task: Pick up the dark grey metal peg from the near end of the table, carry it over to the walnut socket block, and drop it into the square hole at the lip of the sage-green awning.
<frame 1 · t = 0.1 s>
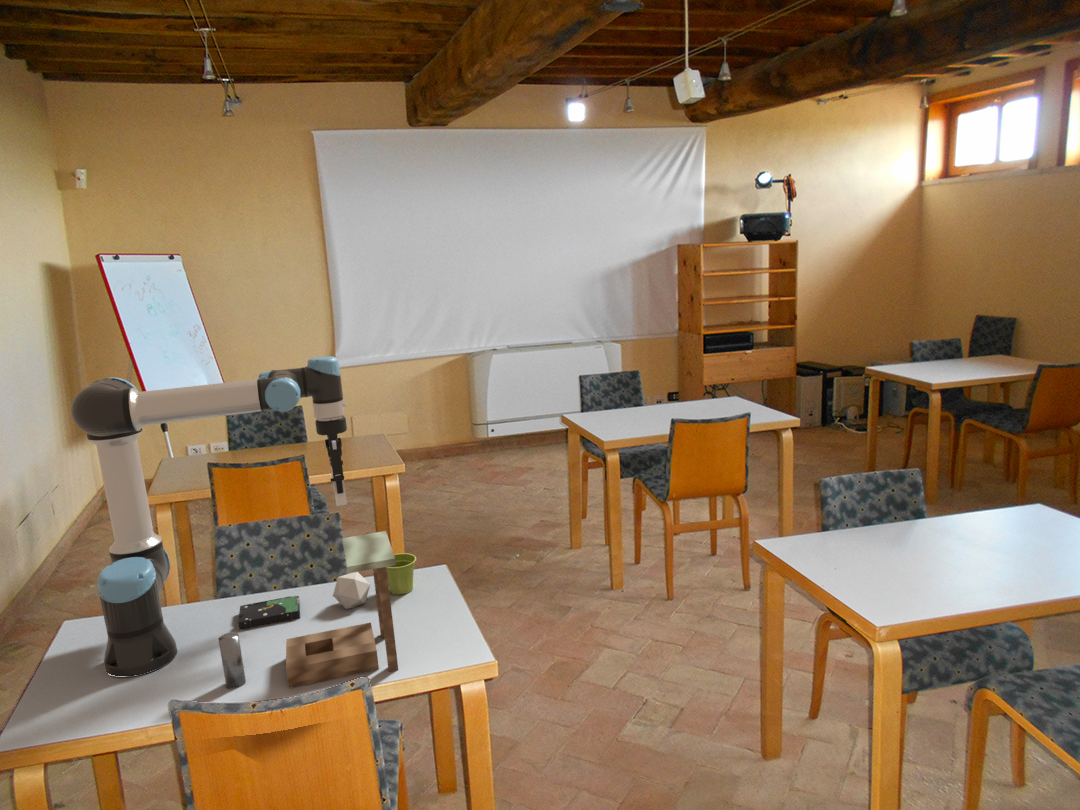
hand: (340, 497, 203), 28 cm above the table, tool pointing down, fingers open, 13 cm apart
disk drive: (270, 618, 201), on the table
plant pot: (401, 590, 211), on the table
socket stand: (321, 665, 175), on the table
die: (353, 604, 204), on the table
peg: (236, 683, 170), on the table
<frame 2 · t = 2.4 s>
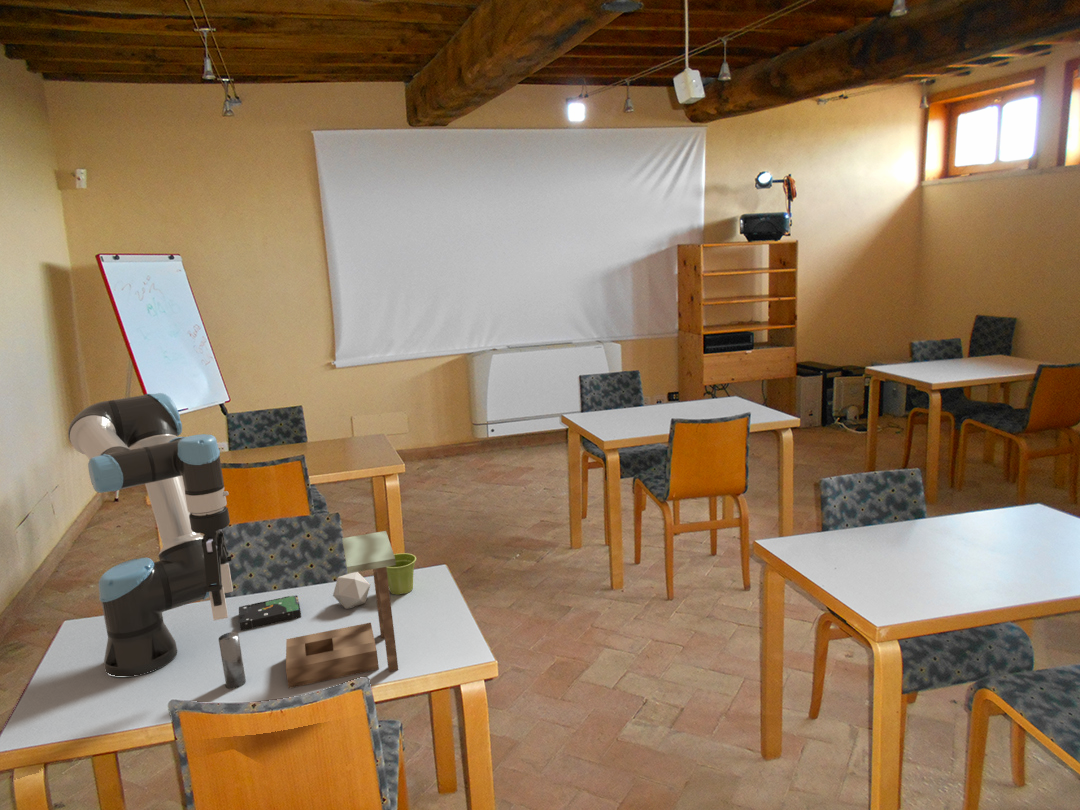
hand: (223, 604, 166), 18 cm above the table, tool pointing down, fingers open, 13 cm apart
nothing on the table moved.
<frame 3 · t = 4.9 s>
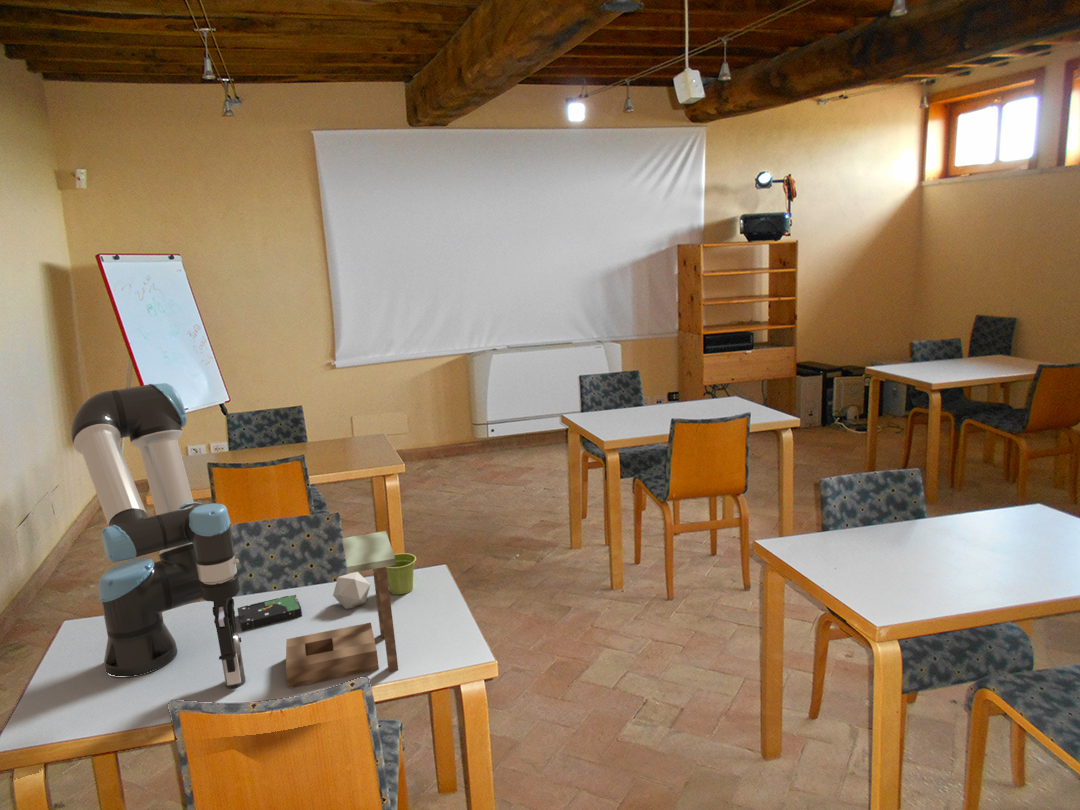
hand: (235, 677, 170), 1 cm above the table, tool pointing down, fingers closed on peg, 4 cm apart
peg: (235, 682, 170), on the table, touching gripper
everything else where it was.
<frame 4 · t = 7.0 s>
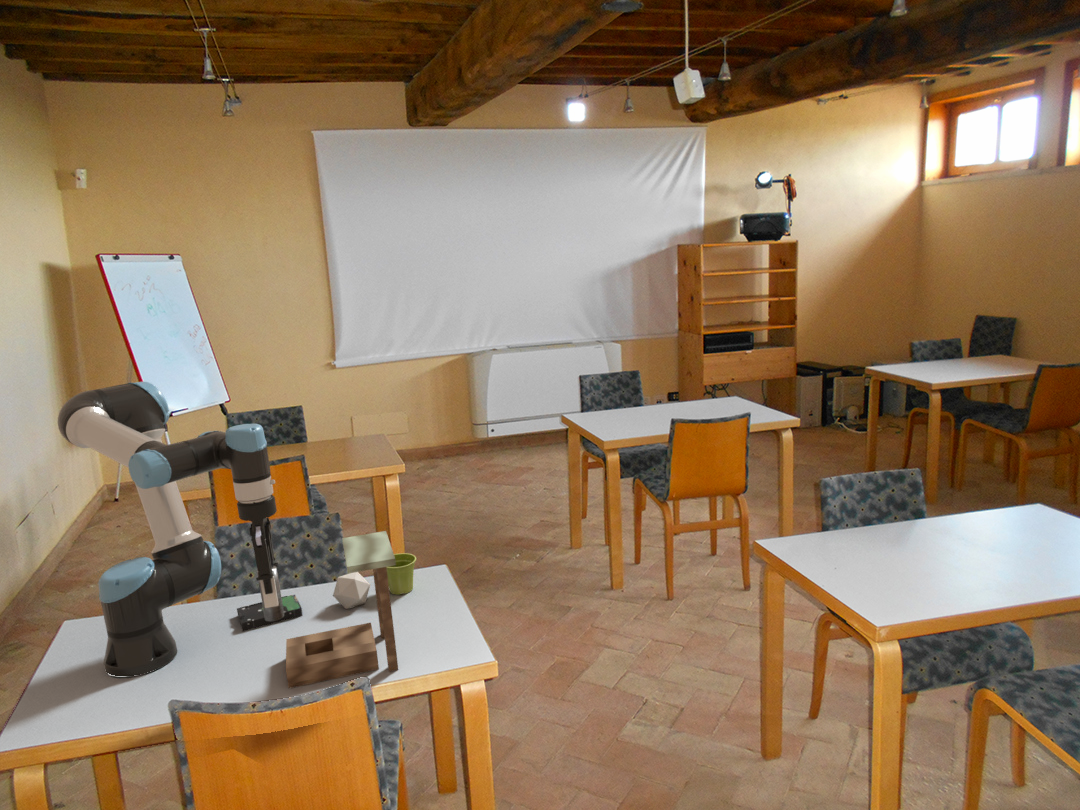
hand: (272, 601, 168), 17 cm above the table, tool pointing down, fingers closed on peg, 4 cm apart
peg: (274, 617, 169), point 14 cm above the table, touching gripper
everything else where it was.
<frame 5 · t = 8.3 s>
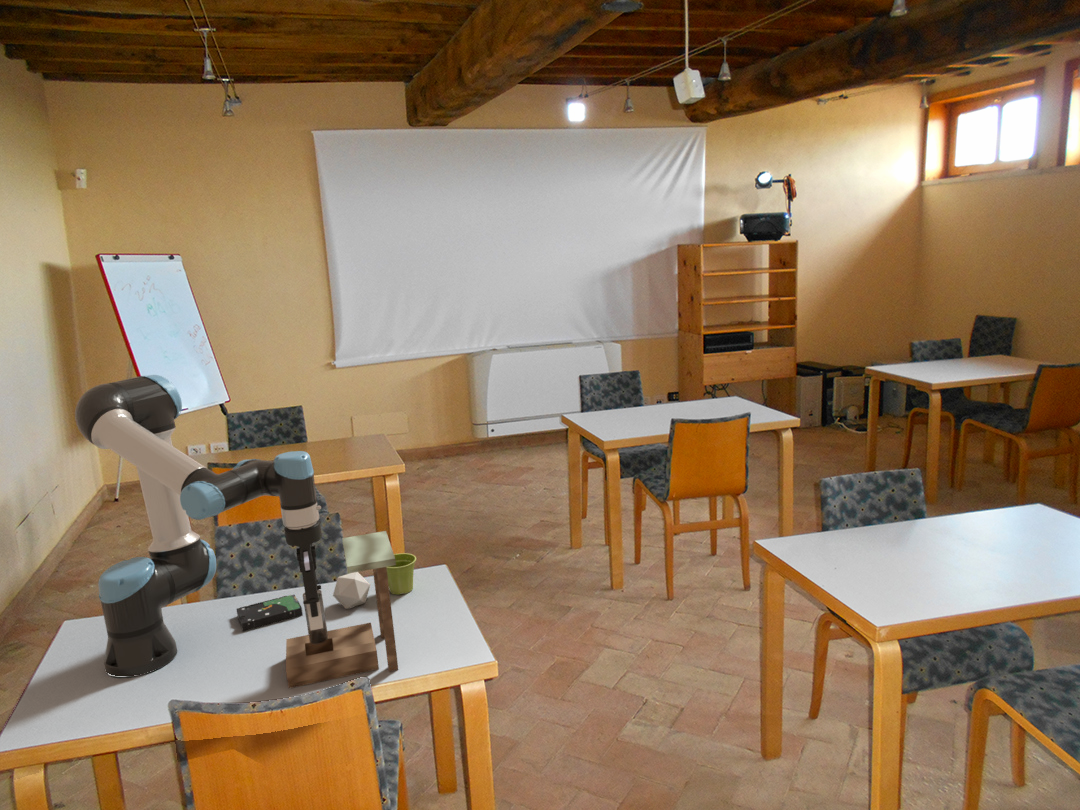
hand: (316, 623, 172), 10 cm above the table, tool pointing down, fingers closed on peg, 4 cm apart
peg: (318, 639, 173), point 6 cm above the table, touching gripper
everything else where it was.
when the fingers open (5 cm above the table, at t = 9.4 s): peg stays where it is, resting on socket stand.
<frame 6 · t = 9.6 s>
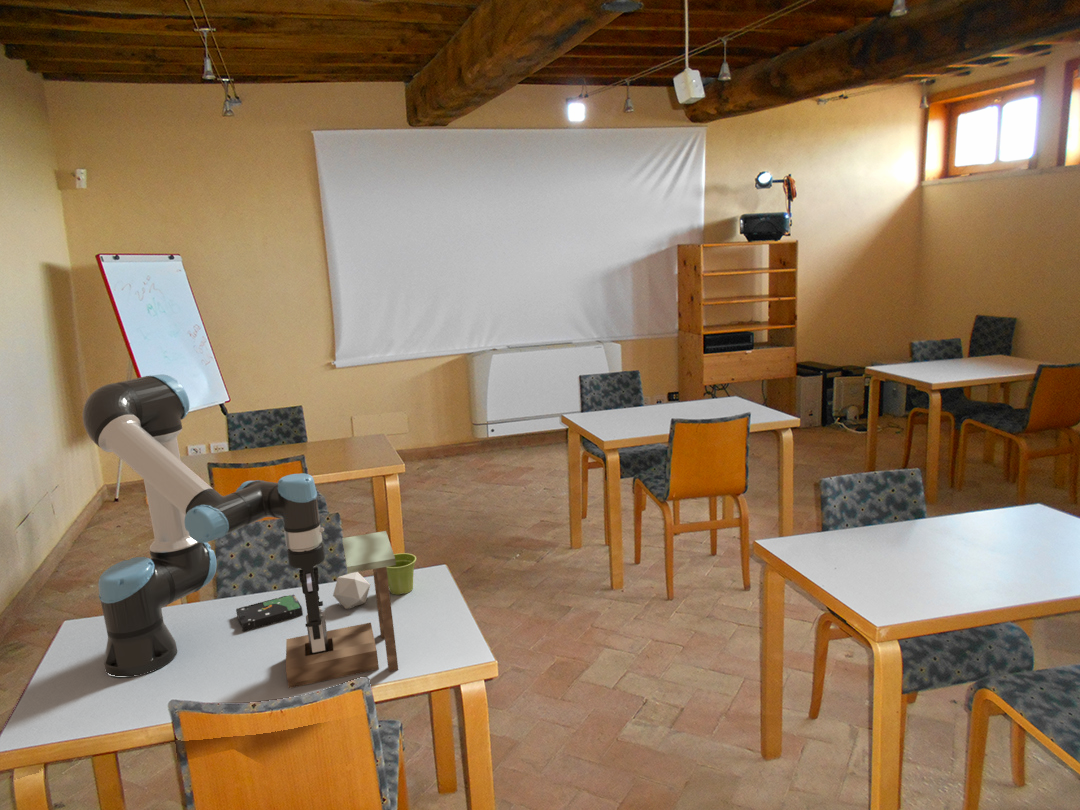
hand: (318, 642, 174), 5 cm above the table, tool pointing down, fingers open, 7 cm apart
peg: (320, 661, 174), point 1 cm above the table, touching socket stand
everything else where it was.
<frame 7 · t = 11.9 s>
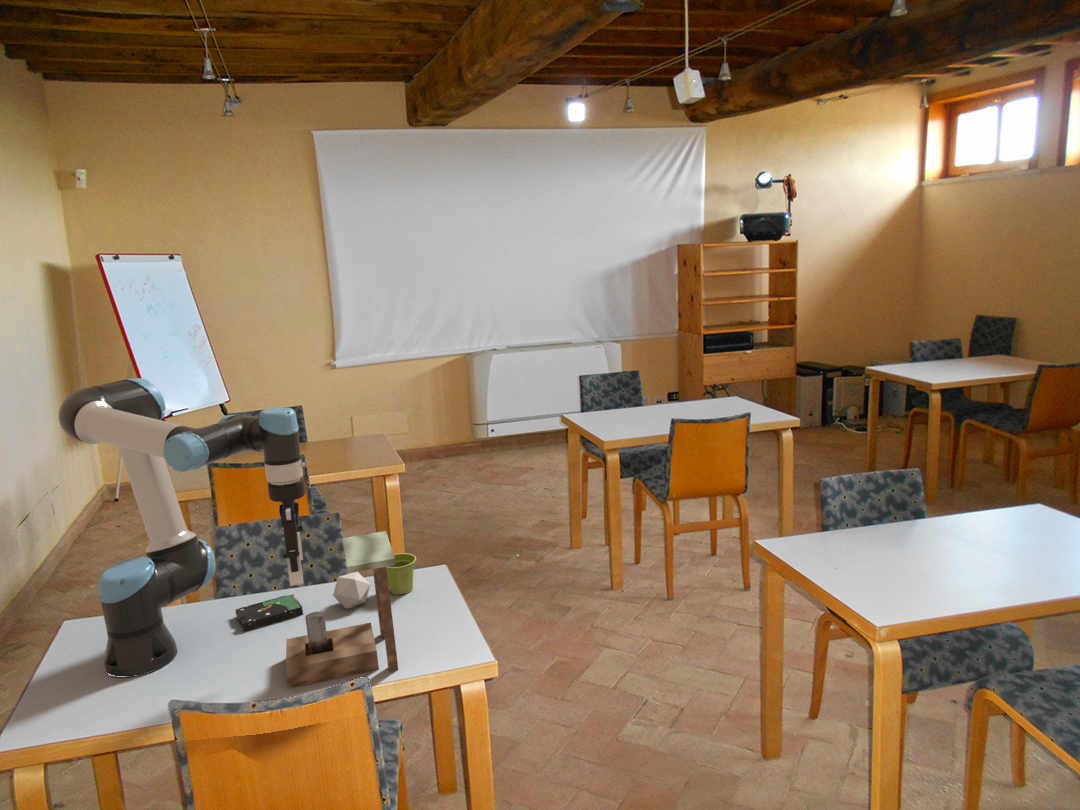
hand: (296, 572, 172), 22 cm above the table, tool pointing down, fingers open, 13 cm apart
nothing on the table moved.
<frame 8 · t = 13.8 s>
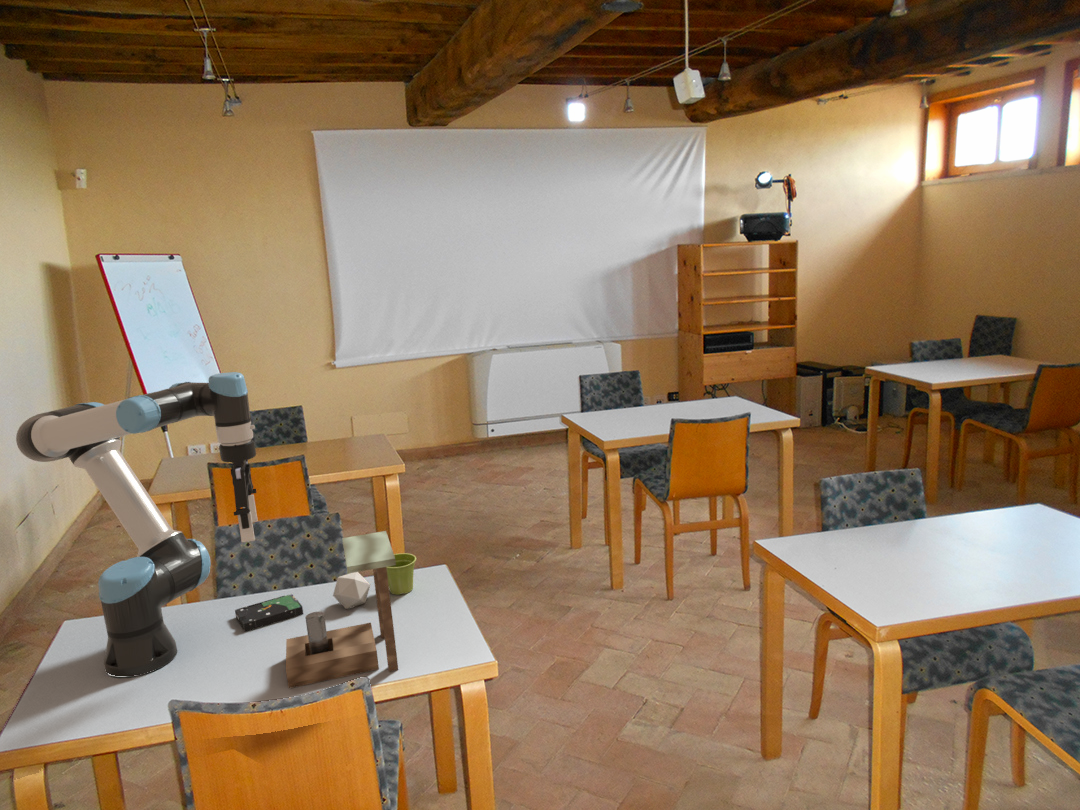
hand: (250, 531, 180), 29 cm above the table, tool pointing down, fingers open, 13 cm apart
nothing on the table moved.
at the end: peg 0.0 cm off-centre on the socket stand, point 1.0 cm above the socket stand's base; peg tilted 1°; the gripper is holding nothing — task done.
